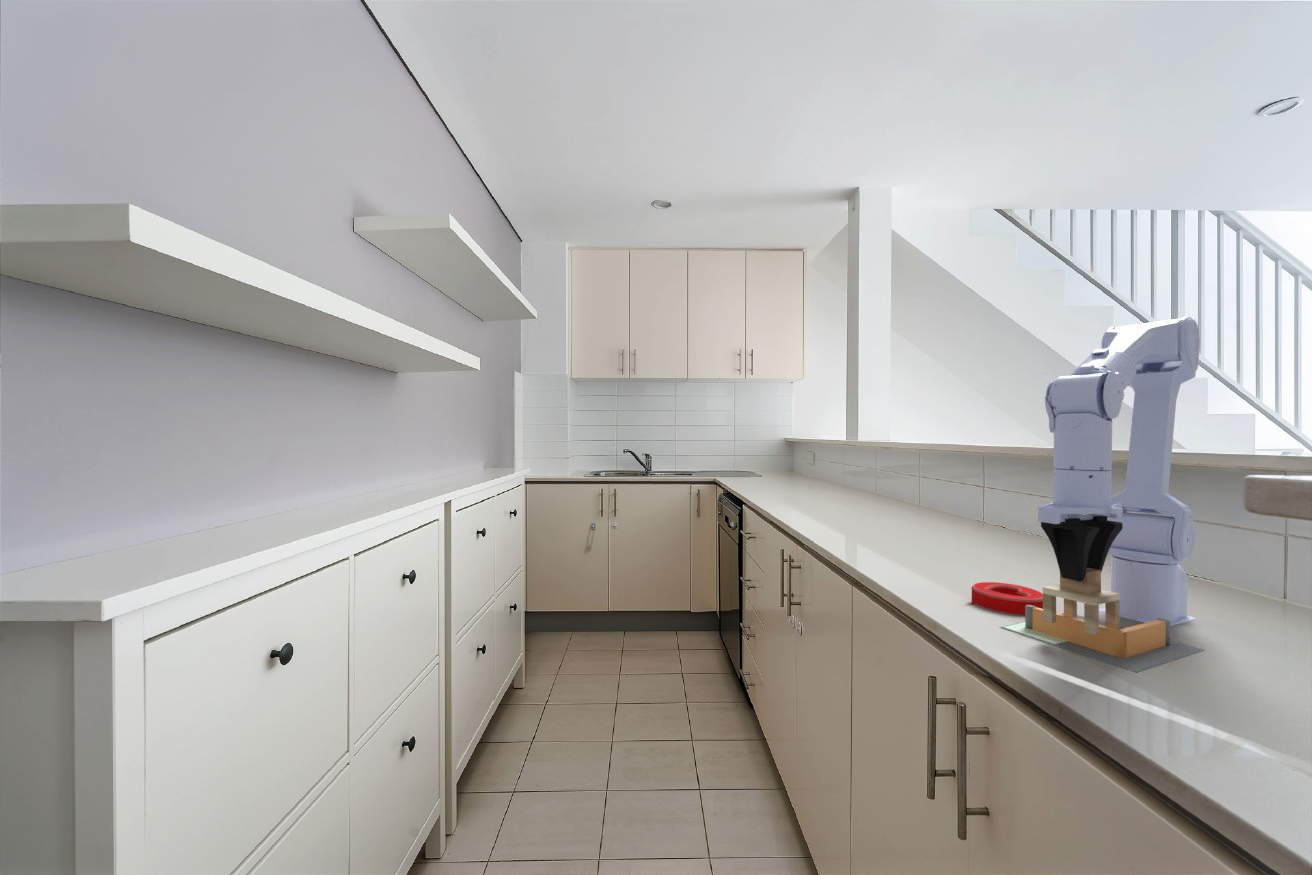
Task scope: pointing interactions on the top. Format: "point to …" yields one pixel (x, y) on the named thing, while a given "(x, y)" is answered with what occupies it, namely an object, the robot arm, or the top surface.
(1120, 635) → the rail
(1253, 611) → the top surface
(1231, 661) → the top surface
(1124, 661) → the mat
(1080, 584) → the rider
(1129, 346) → the robot arm
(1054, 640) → the end pad
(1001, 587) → the decorative ornament
